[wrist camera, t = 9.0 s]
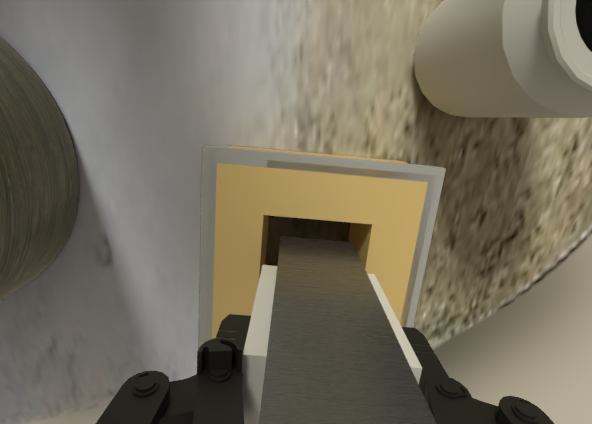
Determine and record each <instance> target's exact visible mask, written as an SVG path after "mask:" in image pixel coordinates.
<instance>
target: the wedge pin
mask: <svg viewBox="0 0 592 424" xmlns="http://www.w3.org/2000/svg"><path fill="white" fill-rule="evenodd" d="M259 424H436V421H435V419H434V417H433V415H432V413H431V411H430V409H429V406H428V404H427V402H426V400H425V398H424V396H423V393H422V391H421V389H420V387H419V385H418V383H417V380H416V378H415V376H414V374H413V372H412V370H411V367H410V365H409V363H408V361H407V359H406V357H405V354H404V352H403V350H402V348H401V346H400V344H399V342H398V339H397V337H396V335H395V333H394V331H393V329H392V326H391V324H390V322H389V320H388V318H387V316H386V313H385V311H384V309H383V307H382V305H381V303H380V300H379V298H378V296H377V294H376V292H375V290H374V288H373V285H372V283H371V281H370V279H369V277H368V275H367V272H366V270H365V268H364V266H363V264H362V262H361V259H360V257H359V255H358V253H357V251H356V249H355V246H354V244H353V242H344V241H333V240H321V239H309V238H298V237H286V236H281V240H280V248H279V256H278V265H277V273H276V282H275V290H274V298H273V307H272V315H271V323H270V332H269V340H268V349H267V357H266V365H265V374H264V382H263V390H262V399H261V407H260V416H259Z"/></svg>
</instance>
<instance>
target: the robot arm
mask: <svg viewBox="0 0 592 424" xmlns="http://www.w3.org/2000/svg"><path fill="white" fill-rule="evenodd" d="M276 273H277V266H271V265H262V270H261V274H260V279H259V283H258V288H257V292H256V297H255V301H254V306H253V310H252V315H251V316H248V315H235V314H229V315H228V316H227V317H225V318H224V319H223V320H222V321H221V324H220V327H219V330H218V332H217V335H216V338H214V339H211V340H209V341H206V342H205V343H203V344H202V345H201V346H200V348H199V350H198V355H197V374H196V375H194V376H192V377H190V378H187V379H183V380H178V381H173V382H170V381H169V378H168V377H167V376H166V375H165V374H164V373H162V372H158V371H145V372H142V373H138V374H136V375H134V376H133V377H131V378H129V379H128V380H127V381H126V382H125V383H124V384H123V385H122V387H121V388H120V390H119V391H118V392H117V394H116V395H115V397H114V398H113V400H112V401H111V403H110V404H109V405H108V407H107V408H106V410H105V411H104V413H103V414H102V416H101V417H100V418H99V420H98V421H97V423H96V424H259V416H260V407H261V399H262V390H263V382H264V374H265V365H266V357H267V349H268V340H269V332H270V323H271V315H272V307H273V298H274V290H275V282H276ZM367 275H368V277H369V279H370V281H371V283H372V285H373V288H374V290H375V292H376V294H377V296H378V298H379V300H380V303H381V305H382V307H383V309H384V311H385V313H386V316H387V318H388V320H389V322H390V324H391V326H392V329H393V331H394V333H395V335H396V337H397V339H398V342H399V344H400V346H401V348H402V350H403V352H404V354H405V357H406V359H407V361H408V363H409V365H410V367H411V370H412V372H413V374H414V376H415V378H416V380H417V383H418V385H419V387H420V389H421V391H422V393H423V396H424V398H425V400H426V402H427V404H428V406H429V409H430V411H431V413H432V415H433V417H434V419H435V421H436V424H554V423H553V422H552V421H551V420H550V419H549V417H548V416H547V415H546V414H545V413H544V412H543V411H542V410H541V409H539V408H538V407H537V406H535V405H534V404H532V403H530V402H529V401H526V400H524V399H521V398H519V397H513V396H506V397H503V398H502V399H501V400H500V403H499V406H495V405H492V404H488V403H485V402H482V401H479V400H476V399H473V398H472V397H471V395H470V393H469V391H468V390H467V389H466V388H465V387H464V386H463V385H462V384H461V383H459V382H458V381H456V380H454V379H452V378H449V377H448V375H447V373H446V372H445V370H444V368H443V367H442V365H441V363H440V361H439V360H438V358H437V356H436V355H435V354H434V351H433V350H432V348H431V347H430V345H429V343H428V341H427V340H426V338H425V336H424V335H423V334H422V333H420V332H419V331H418V330H417V329H416V328H411V327H401V325H400V323H399V321H398V319H397V317H396V315H395V313H394V311H393V309H392V307H391V306H390V304H389V302H388V300H387V298H386V296H385V294H384V292H383V290H382V288H381V286H380V284H379V282H378V280H377V278H376V276H375V274H367Z"/></svg>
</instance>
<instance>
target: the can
mask: <svg viewBox="0 0 592 424" xmlns="http://www.w3.org/2000/svg"><path fill="white" fill-rule="evenodd" d="M414 67H415V76H416V79H417V81H418V84H419V86H420V89H421V91H422V93H423V94H424V96H425V97H426V98H427V99H428V100H429V101H430V102H431V104H432V105H433V106H434V107H436V108H438V109H440V110H442V111H443V112H445V113H447V114H449V115H455V116H461V117H525V118H586V117H592V0H443V1H442V2H441V3H440V4H439V5H438V6H437V7H436V9H435V10H434V11H433V12H432V13H431V14H430V15H429V16H428V18H427V19H426V21H425V23H424V25H423V27H422V29H421V31H420V33H419V34H418V38H417V43H416V47H415V52H414Z"/></svg>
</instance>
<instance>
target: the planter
mask: <svg viewBox="0 0 592 424" xmlns="http://www.w3.org/2000/svg"><path fill="white" fill-rule="evenodd" d="M78 196H79V176H78V166H77V161H76V155H75V151H74V147H73V143H72V140H71V137H70V134H69V131H68V128H67V126H66V123H65V121H64V119H63V117H62V114H61V112H60V110H59V108H58V106H57V105H56V103H55V101H54V99H53V98H52V96H51V94H50V93H49V91H48V90H47V88H46V87H45V85H44V84H43V82H42V81H41V79H40V78H39V77H38V76H37V74H36V73H35V72H34V70H33V69H32V68H31V67H30V66H29V65H28V63H27V62H26V61H25V60H24V59H23V58H22V57H21V56H20V55H19V54H18V53H17V52H16V51H15V50H14V49H13V48H12V47H11V46H10V45H9V44H8V43H7V42H6V41H4V40H3V39H2V38H1V37H0V301H2V300H3V299H5V298H6V297H8V296H9V295H11V294H12V293H14V292H15V291H17V290H18V289H20V288H21V287H23V286H24V285H26V284H27V283H29V282H30V281H32V280H33V279H34V278H35V277H37V276H38V275H39V274H41V273H42V272H43V271H44V270H45V269H46V268H47V267H48V266H49V265H50V264H51V263H52V262H53V260H54V259H55V258H56V257H57V255H58V254H59V252H60V251H61V249H62V248H63V246H64V244H65V243H66V241H67V238H68V236H69V234H70V232H71V229H72V226H73V224H74V220H75V216H76V212H77V206H78Z"/></svg>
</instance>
